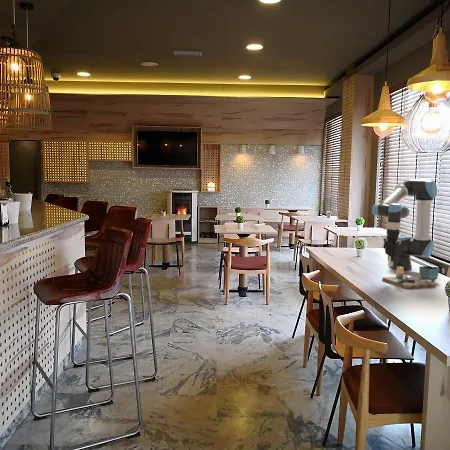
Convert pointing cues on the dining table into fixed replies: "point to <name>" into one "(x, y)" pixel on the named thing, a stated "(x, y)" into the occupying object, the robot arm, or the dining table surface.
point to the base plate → (410, 283)
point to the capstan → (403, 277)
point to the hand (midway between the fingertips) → (390, 266)
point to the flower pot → (429, 273)
